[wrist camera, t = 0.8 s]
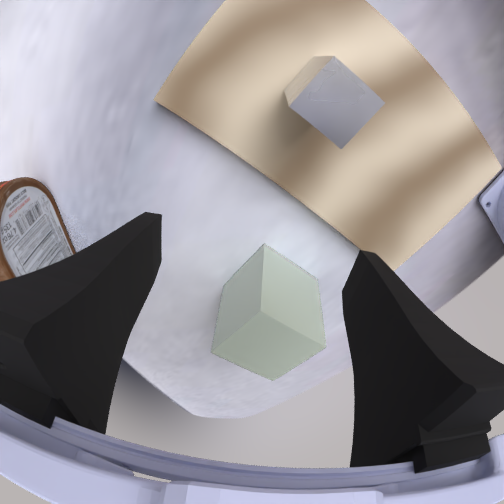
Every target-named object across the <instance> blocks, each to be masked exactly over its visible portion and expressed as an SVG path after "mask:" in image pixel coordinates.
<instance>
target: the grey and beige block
mask: <svg viewBox="0 0 504 504" xmlns="http://www.w3.org/2000/svg"><path fill="white" fill-rule="evenodd" d="M284 92H285V95H286V99H287V102H288V105H289V107H290V108H291V109H293V110H294V111H295V112H297V113H298V114H299V115H300V116H302V117H303V118H304V119H305V120H307V121H308V122H309V123H310V124H312V125H313V126H314V127H315V128H316V129H318V130H319V131H320V132H321V133H322V134H324V135H325V136H326V137H327V138H328V139H330V140H331V141H332V142H333V143H334V144H335V145H336V146H338V147H339V148H340V149H342V148H343V147H344V146H345V145H346V144H347V143H348V142H349V141H350V140H351V139H352V138H353V137H354V136H355V135H356V134H357V133H358V131H359V130H360V129H361V128H362V127H363V126H364V125H365V124H366V123H367V122H368V121H369V120H370V119H371V118H372V117H373V116H374V115H375V114H376V112H377V111H378V110H379V109H380V108H381V107H382V106H383V105H384V104H385V102H384V101H383V100H382V99H381V98H380V97H379V96H378V95H377V94H376V93H375V92H374V91H373V90H372V89H371V88H370V87H369V86H367V85H366V84H365V83H364V82H363V81H362V80H361V79H360V78H359V77H358V76H357V75H356V74H354V73H353V72H352V71H351V70H350V69H349V68H348V67H347V66H345V65H344V64H343V63H342V62H341V61H340V60H338V59H337V58H336V57H335V56H314V57H313V58H312V59H311V60H310V61H309V62H308V63H307V64H306V66H305V67H304V68H303V69H302V70H301V71H300V72H299V73H298V75H297V76H296V77H295V78H294V79H293V80H292V81H291V83H290V84H289V85H288V86H287V87H286V88H285V89H284Z"/></svg>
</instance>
